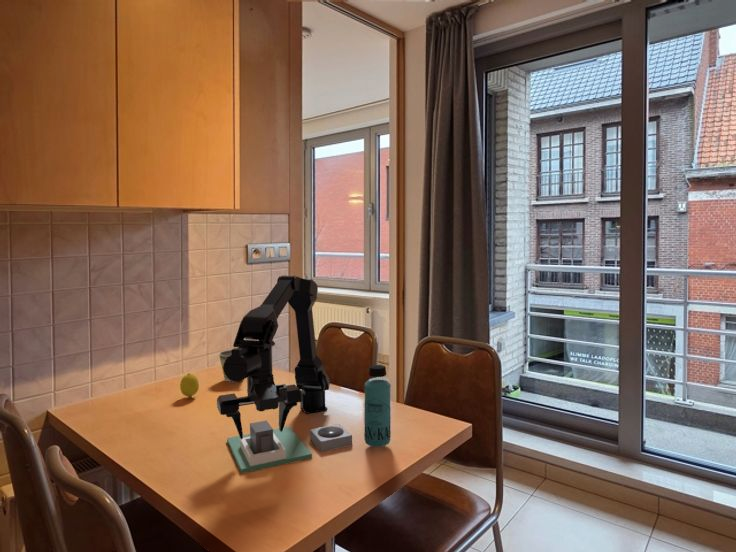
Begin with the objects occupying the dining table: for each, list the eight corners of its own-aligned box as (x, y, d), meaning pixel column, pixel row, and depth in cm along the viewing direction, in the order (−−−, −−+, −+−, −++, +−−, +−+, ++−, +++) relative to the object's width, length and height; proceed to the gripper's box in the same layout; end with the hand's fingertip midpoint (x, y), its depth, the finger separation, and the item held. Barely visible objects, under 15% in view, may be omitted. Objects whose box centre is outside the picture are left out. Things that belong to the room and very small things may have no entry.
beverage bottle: (363, 442, 116) (362, 362, 115) (389, 441, 117) (389, 361, 116) (365, 454, 110) (364, 370, 108) (393, 452, 111) (392, 369, 109)
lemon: (202, 395, 153) (201, 371, 152) (191, 401, 148) (190, 376, 147) (188, 394, 155) (187, 370, 154) (176, 399, 149) (175, 375, 149)
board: (289, 430, 124) (289, 419, 124) (312, 457, 108) (311, 445, 108) (227, 441, 117) (226, 430, 117) (241, 473, 101) (241, 460, 101)
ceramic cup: (214, 380, 170) (214, 352, 169) (239, 374, 177) (238, 348, 177) (234, 387, 161) (233, 358, 161) (259, 381, 169) (258, 353, 168)
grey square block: (339, 433, 122) (339, 423, 122) (352, 445, 115) (352, 434, 115) (310, 439, 119) (310, 428, 118) (321, 451, 111) (321, 440, 111)
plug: (267, 444, 113) (266, 420, 113) (274, 456, 107) (274, 430, 107) (250, 448, 112) (249, 423, 111) (257, 460, 105) (256, 434, 105)
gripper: (223, 384, 97) (226, 457, 98) (309, 372, 105) (311, 440, 106) (215, 370, 107) (217, 437, 108) (294, 360, 115) (296, 423, 116)
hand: (261, 434), depth 109 cm, fingers open, 9 cm apart
